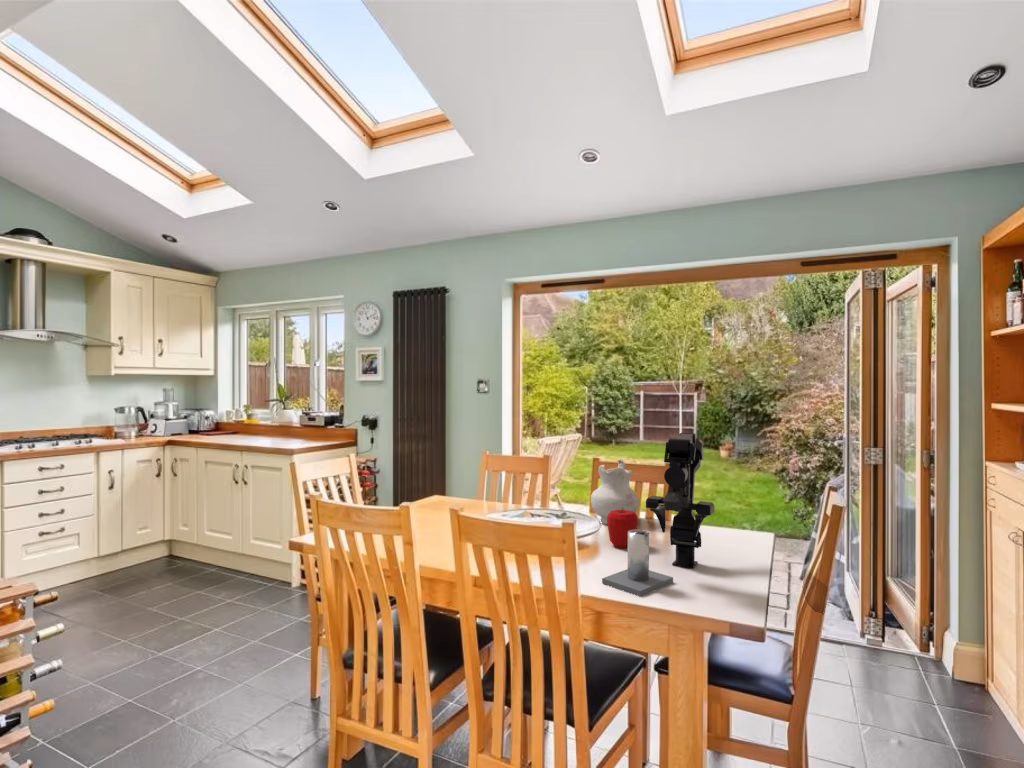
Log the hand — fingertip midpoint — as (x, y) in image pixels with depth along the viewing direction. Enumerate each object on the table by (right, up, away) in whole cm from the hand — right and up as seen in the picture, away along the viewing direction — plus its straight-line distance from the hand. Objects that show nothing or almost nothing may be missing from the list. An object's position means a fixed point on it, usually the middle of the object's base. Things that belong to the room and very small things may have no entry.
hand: (679, 534), depth 166 cm
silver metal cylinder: (-13, -12, -4) cm, 18 cm away
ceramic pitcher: (-7, -13, +68) cm, 69 cm away
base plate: (-13, -13, -4) cm, 19 cm away
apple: (-10, -13, +33) cm, 37 cm away
